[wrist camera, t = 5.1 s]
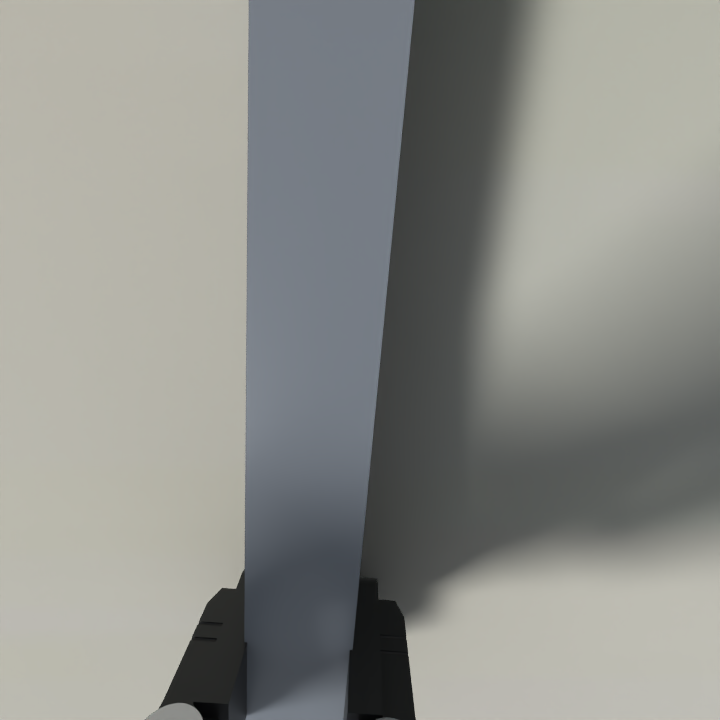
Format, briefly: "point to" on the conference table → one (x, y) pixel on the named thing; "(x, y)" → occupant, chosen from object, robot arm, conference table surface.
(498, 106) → the conference table surface
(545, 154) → the conference table surface
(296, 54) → the scraper
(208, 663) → the robot arm
